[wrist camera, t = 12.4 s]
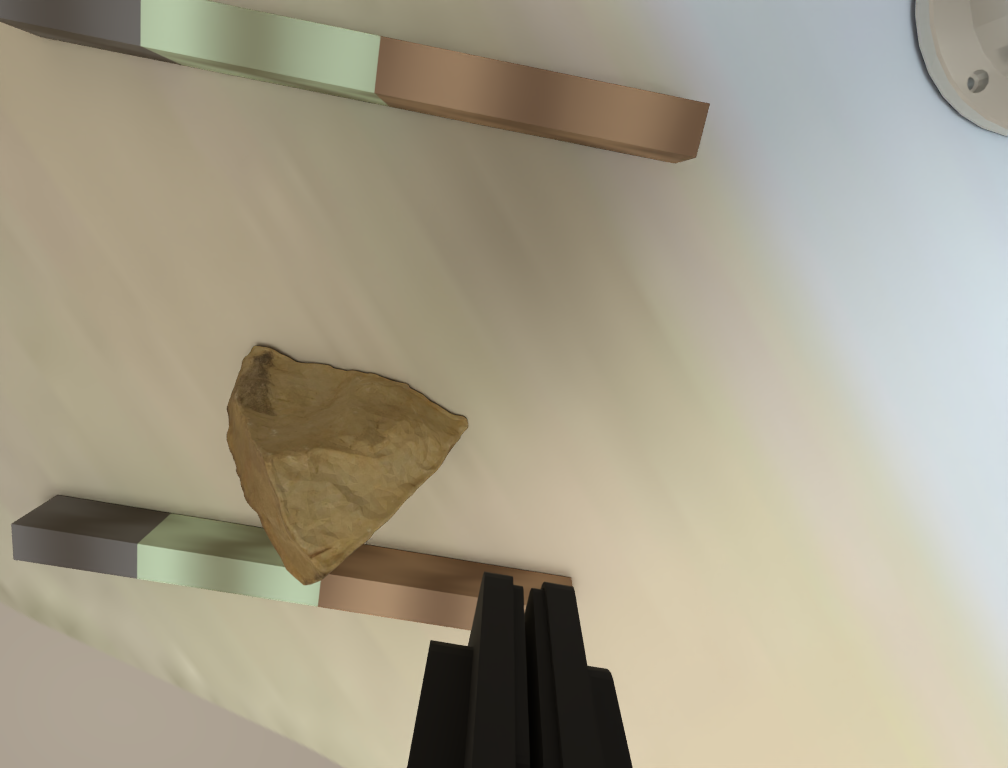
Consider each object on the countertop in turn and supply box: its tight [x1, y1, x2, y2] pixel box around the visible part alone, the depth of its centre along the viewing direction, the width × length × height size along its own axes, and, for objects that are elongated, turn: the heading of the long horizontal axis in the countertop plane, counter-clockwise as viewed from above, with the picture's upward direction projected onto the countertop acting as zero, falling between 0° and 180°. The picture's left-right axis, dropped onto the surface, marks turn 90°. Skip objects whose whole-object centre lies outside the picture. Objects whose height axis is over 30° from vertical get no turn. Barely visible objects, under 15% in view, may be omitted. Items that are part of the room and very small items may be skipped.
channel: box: [0, 0, 710, 630], centre depth 27 cm, size 28×26×3 cm
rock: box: [227, 346, 468, 585], centre depth 26 cm, size 11×9×10 cm
